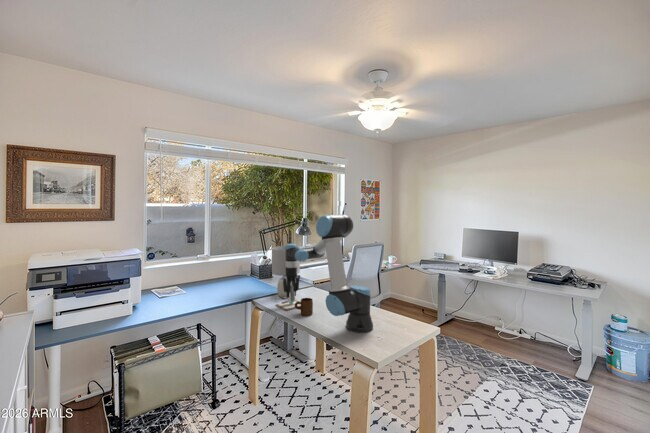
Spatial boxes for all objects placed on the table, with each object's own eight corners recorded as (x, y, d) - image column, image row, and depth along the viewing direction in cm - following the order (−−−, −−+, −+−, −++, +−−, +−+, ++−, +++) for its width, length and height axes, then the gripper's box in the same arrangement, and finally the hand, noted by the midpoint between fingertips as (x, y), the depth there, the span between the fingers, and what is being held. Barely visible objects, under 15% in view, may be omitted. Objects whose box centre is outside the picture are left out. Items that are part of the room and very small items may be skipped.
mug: (297, 318, 190) (297, 303, 189) (292, 314, 196) (292, 299, 196) (314, 315, 196) (314, 300, 195) (309, 311, 202) (309, 296, 202)
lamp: (301, 293, 241) (301, 245, 239) (296, 301, 221) (296, 249, 219) (276, 292, 243) (275, 244, 241) (268, 300, 223) (268, 249, 221)
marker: (291, 302, 214) (291, 285, 213) (294, 303, 211) (294, 286, 211) (288, 303, 212) (288, 285, 211) (290, 304, 209) (290, 286, 209)
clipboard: (306, 305, 213) (306, 303, 212) (285, 311, 202) (285, 308, 202) (295, 300, 223) (295, 298, 222) (275, 305, 212) (275, 303, 212)
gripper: (297, 264, 218) (297, 297, 219) (278, 267, 208) (278, 302, 209) (304, 266, 212) (304, 300, 214) (284, 269, 202) (284, 305, 203)
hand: (291, 301), depth 211 cm, fingers closed on marker, 3 cm apart
